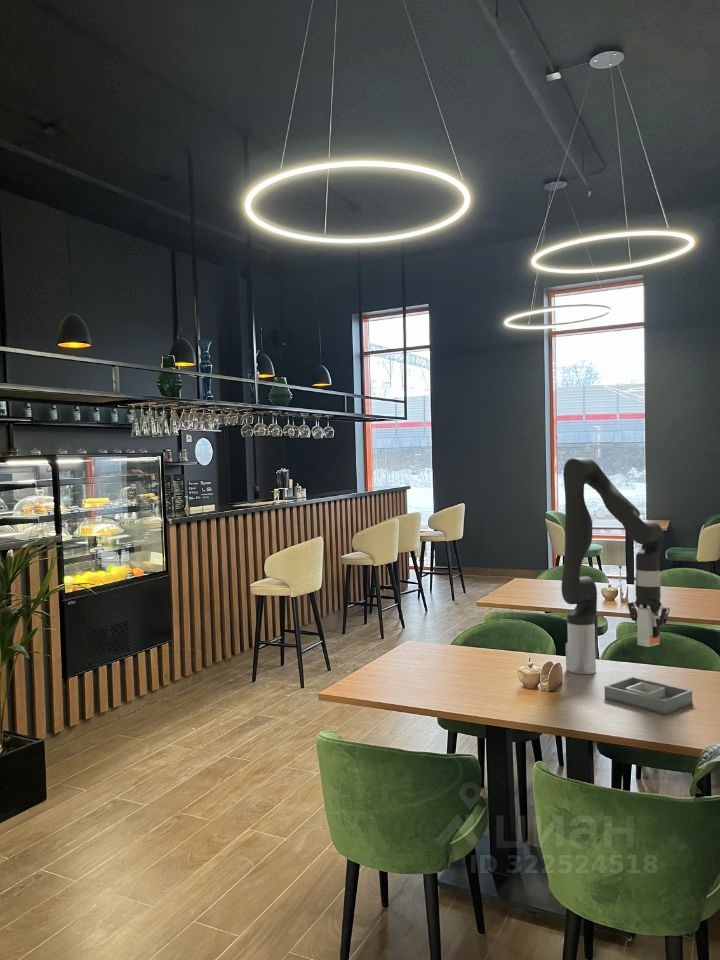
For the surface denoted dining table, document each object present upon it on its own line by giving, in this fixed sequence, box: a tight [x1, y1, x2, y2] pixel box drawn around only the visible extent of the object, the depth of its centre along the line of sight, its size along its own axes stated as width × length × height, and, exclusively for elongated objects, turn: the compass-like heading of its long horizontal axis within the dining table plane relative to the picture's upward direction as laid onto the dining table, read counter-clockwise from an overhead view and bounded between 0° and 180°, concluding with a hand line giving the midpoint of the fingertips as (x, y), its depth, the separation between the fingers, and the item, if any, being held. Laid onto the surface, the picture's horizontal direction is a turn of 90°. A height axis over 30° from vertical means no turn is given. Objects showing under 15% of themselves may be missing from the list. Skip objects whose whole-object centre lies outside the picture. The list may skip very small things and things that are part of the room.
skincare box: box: [636, 607, 660, 648], centre depth 232 cm, size 6×4×12 cm
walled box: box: [603, 676, 693, 716], centre depth 219 cm, size 20×15×4 cm
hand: (648, 635), depth 232 cm, fingers closed on skincare box, 4 cm apart
